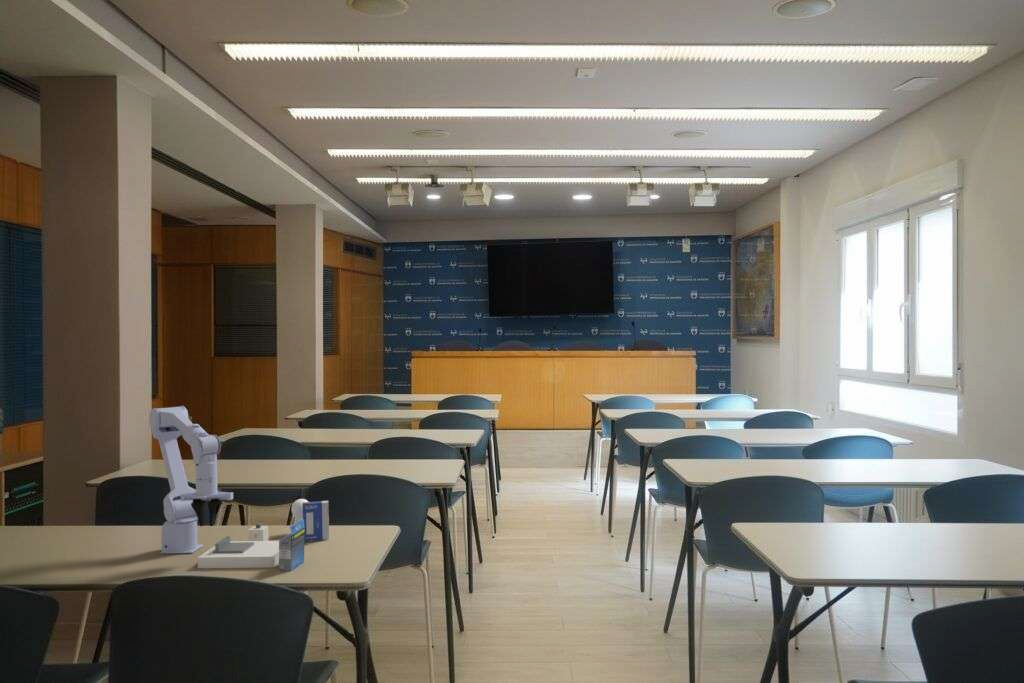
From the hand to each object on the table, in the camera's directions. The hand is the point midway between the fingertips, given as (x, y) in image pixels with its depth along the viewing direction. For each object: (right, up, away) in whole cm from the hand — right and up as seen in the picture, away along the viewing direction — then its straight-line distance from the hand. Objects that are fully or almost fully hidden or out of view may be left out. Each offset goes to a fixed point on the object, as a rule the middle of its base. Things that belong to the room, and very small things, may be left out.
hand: (207, 525), depth 213 cm
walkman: (+26, -10, +20) cm, 34 cm away
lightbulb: (+19, -10, +28) cm, 35 cm away
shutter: (+8, -7, 0) cm, 10 cm away
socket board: (+11, -10, 0) cm, 15 cm away
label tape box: (+27, -10, -7) cm, 29 cm away
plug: (+10, -10, +14) cm, 20 cm away
